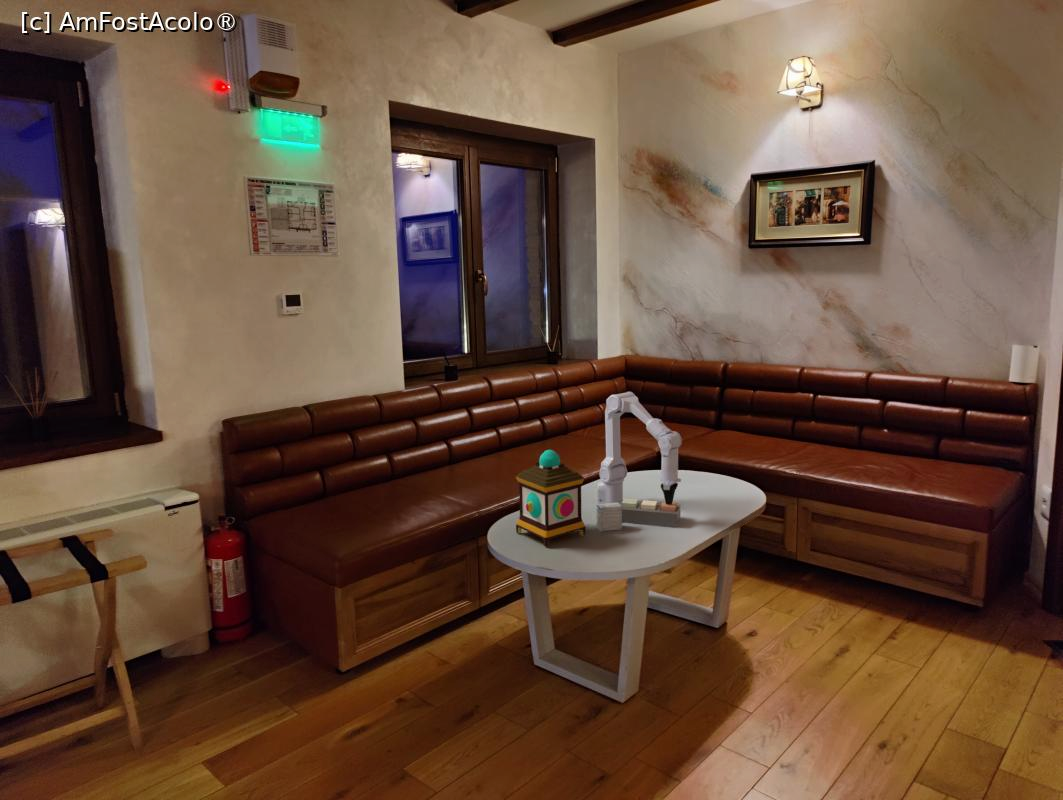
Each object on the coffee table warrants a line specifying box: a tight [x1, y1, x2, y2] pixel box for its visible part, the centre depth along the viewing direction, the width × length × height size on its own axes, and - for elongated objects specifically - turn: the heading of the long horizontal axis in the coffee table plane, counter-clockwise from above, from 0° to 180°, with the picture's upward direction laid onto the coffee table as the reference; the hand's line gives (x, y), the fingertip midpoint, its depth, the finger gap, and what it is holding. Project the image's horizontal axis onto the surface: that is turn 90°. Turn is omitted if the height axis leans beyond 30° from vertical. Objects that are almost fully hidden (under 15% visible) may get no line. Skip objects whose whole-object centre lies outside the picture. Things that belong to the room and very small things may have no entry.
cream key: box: [641, 499, 658, 510], centre depth 263 cm, size 5×5×3 cm
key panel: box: [620, 500, 682, 529], centre depth 263 cm, size 21×10×5 cm, turn 72°
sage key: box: [622, 498, 639, 508], centre depth 265 cm, size 5×5×3 cm
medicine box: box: [596, 503, 623, 532], centre depth 255 cm, size 8×4×9 cm, turn 102°
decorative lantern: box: [515, 449, 587, 548], centre depth 249 cm, size 20×20×30 cm
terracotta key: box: [661, 501, 678, 512], centre depth 261 cm, size 5×5×3 cm
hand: (669, 503), depth 260 cm, fingers closed
